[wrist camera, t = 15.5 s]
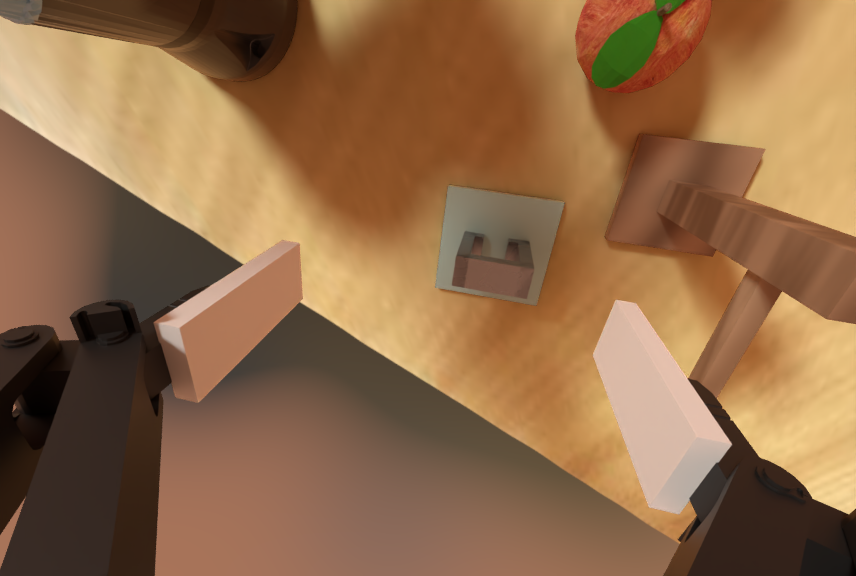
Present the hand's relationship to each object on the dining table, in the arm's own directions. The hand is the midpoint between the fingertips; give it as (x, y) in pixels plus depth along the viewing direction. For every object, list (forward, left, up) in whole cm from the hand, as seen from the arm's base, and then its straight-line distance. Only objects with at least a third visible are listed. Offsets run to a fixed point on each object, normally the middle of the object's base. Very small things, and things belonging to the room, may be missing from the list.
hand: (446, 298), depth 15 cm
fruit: (+9, +14, -26) cm, 31 cm away
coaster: (+2, -6, -26) cm, 27 cm away
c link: (+2, -6, -25) cm, 26 cm away
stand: (+18, -2, -26) cm, 32 cm away
